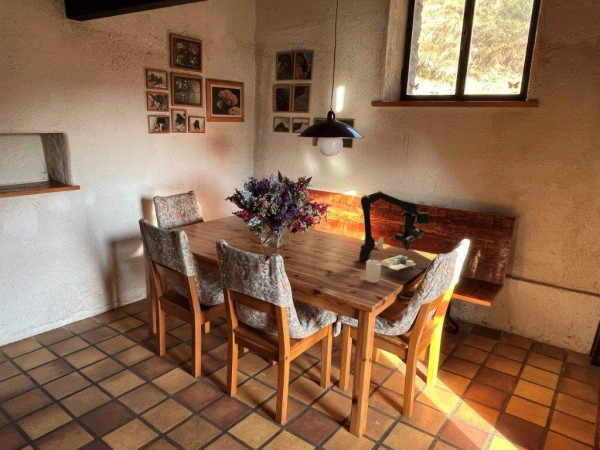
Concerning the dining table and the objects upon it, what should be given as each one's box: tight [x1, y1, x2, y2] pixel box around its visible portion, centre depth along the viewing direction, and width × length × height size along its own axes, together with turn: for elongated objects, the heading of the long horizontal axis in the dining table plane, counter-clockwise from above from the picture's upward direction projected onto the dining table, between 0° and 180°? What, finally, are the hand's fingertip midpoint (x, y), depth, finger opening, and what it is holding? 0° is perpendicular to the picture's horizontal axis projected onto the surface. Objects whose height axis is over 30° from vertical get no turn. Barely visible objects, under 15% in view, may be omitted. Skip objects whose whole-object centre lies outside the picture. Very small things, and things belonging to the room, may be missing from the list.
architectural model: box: [375, 237, 384, 250], centre depth 280 cm, size 3×7×7 cm, turn 148°
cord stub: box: [398, 257, 415, 267], centre depth 247 cm, size 3×10×3 cm, turn 39°
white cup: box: [365, 259, 383, 284], centre depth 221 cm, size 8×8×10 cm
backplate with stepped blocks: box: [380, 254, 416, 271], centre depth 246 cm, size 18×11×4 cm, turn 129°
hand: (406, 249), depth 245 cm, fingers closed
